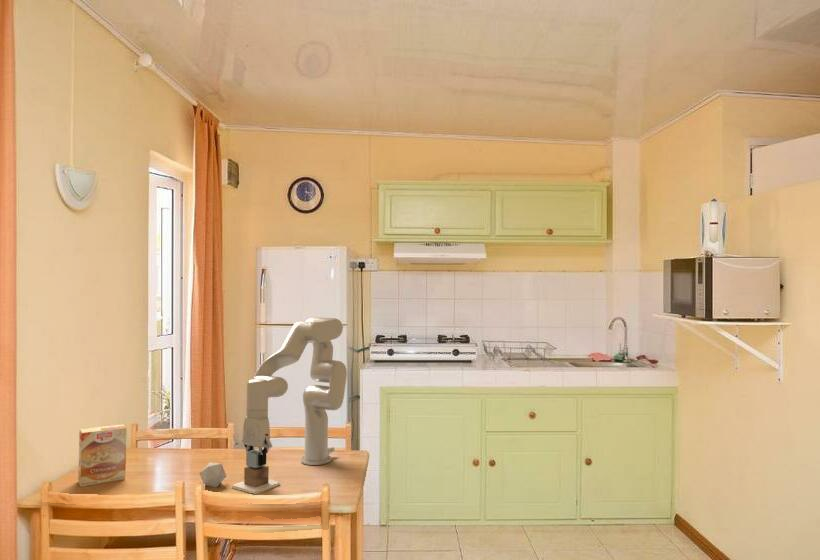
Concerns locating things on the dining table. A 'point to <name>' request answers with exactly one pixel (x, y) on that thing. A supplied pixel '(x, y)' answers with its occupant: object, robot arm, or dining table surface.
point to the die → (213, 474)
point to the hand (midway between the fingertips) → (256, 463)
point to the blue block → (252, 458)
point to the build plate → (258, 489)
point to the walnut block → (256, 476)
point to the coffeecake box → (102, 454)
